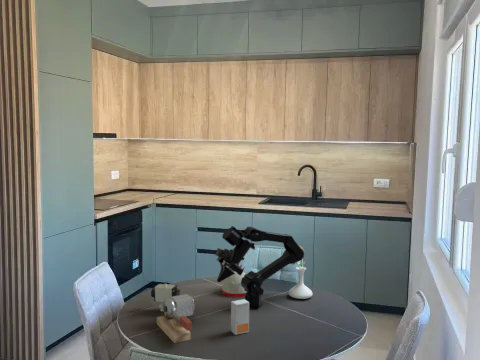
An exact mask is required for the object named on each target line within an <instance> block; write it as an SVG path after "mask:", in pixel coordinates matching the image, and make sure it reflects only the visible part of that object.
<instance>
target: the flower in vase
mask: <svg viewBox="0 0 480 360" xmlns="http://www.w3.org/2000/svg"><path fill="white" fill-rule="evenodd" d="M299 247H300V248H301V249H302V250H303V251H304V252H305V250H304V247H303V246H301V245H299ZM306 262H307V260H305V261H301V262H300V263H298V262H296V263H292V264H291V265H297V267H295V270H296V272H297V275H298V276H297V277H298V278H297V280H298V281H297V283H296V284H295V285H294V286H293V287H291V288H290V289H289V290H288V292H287V293H288V295H289V296H290V297H292V298H294V299H299V300H300V299H301V300H302V299H303V300H305V299H309V298H312V296H313V291H312V290H311V288H309V287H307V286H306V285H305V284H304V274H305V272H306V270H307V267H305V266H303V265H305V264H306Z"/></svg>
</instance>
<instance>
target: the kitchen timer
mask: <svg viewBox="0 0 480 360" xmlns="http://www.w3.org/2000/svg"><path fill="white" fill-rule="evenodd" d="M238 266H240V267H241V268H242V266H243V264H240V263H239V264H238ZM242 269H243V273H242V274H241V276H240V275H238V274H237V273H236V272H234V273H235V274H233V275H231V276H230V277H228V278H226V279H224V280H223V284H222V289H221V290H222V295H224V296H225V297H226V296H227V297H231V298H243V296H244V297H245V296H246V291H245V290H244V288H243V287H242V286H241V279H242V278H243V277H244V275H246V274H247V273H245V272H244V269H245V267H243V268H242Z"/></svg>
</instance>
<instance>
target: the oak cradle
mask: <svg viewBox="0 0 480 360" xmlns="http://www.w3.org/2000/svg"><path fill="white" fill-rule="evenodd" d="M156 324H157V326H158V327H159V328H160V329H161V330H162V331H163V333H164V334H165V335H166V336H167V337H168V338H169V339H170V340H171V341H172V343H174V344H177V343H181V342H186V341H190V340H191V339H192V338H191V336H192V335H191V330H188V331H187V330H186V329H185V328H184V327H183V326H182V325H180V322H179V321H177V320H176V319H175V318H174V317H172V318H166V317H165V315H162V316H157V317H156Z"/></svg>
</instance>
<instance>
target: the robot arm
mask: <svg viewBox="0 0 480 360" xmlns="http://www.w3.org/2000/svg"><path fill="white" fill-rule="evenodd" d="M221 238H222V239H223V240H224V241H225V242H226V243H228V244H229V245H230V246H231V247H233V249H227V248H224V249H223V248H218V247H217V249H216V252H215V256H216V257H217V259H216V261H217V262H218V263H219V266H220V270H219V273H218V277H217V280H216V282H218V283H221V282H222V281H223V282H224V280H225V279H226V278H228V277H230V276H231V275H233V274H235V273H234V272H236V273H237V274H238V275H240V276H241V274H242V273H243V272H244V270H243V268H242V266H241V265H240V263H241V262H242V261H244V260H245V256H246V255H247V253H248V252H249V250H250V249H251V250H253V251H254V250H256V247H255V243H257V242H264V241H268V242H274V243H282V245H283V247H284V249H285V250H283V253H282V255H281V256H280V257H278V258H276V259H274V261H272V262H271V263H269V264H268V265H266V266H265V267H263V268H261V269H260V270H258V271H257V272H254V271H253V270H250V271H248V272H247V273H245V274H246V275H244V277H243V278H242V279H241V286H242V287H243V288H244V290H245V291H246V296H244V299H245V300H247V301H248V302H249V309H250V310H251V309H252V310H259V309H260V308H261V307H262V306H263V303H262V296H263V295H264V289H263V288H262V285H263V283H264V282H265V281H266V280H267V279H269V278H270V277H272V276H273V275H275V274H276V273H278V272H279V271H281V270H282V269H283V268H285V267H286V266H288V265H293V264H292V263H295V264H297V263H298V262H300V261H301V262H302V260H303V259H304V256H305V250H304V251H303V250H302V249H301V248H300V247H299V246H300V245H299V244H298V243H297V242H296V241H295V239H294V237H293V236H292V235H291V234H287V233H276V232H272V231H271V232H270V231H265V230H262V229H259V228H255V227H253V226H247V227H245V229H243V230H240V231H239V230H238V229H237V228H236V227H235V226H233V225H231V227H229V228H227V229H226V230H225V231H223V234H222V237H221ZM254 242H255V243H254ZM296 262H297V263H296ZM238 264H239V266H238ZM240 266H241V267H240Z"/></svg>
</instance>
